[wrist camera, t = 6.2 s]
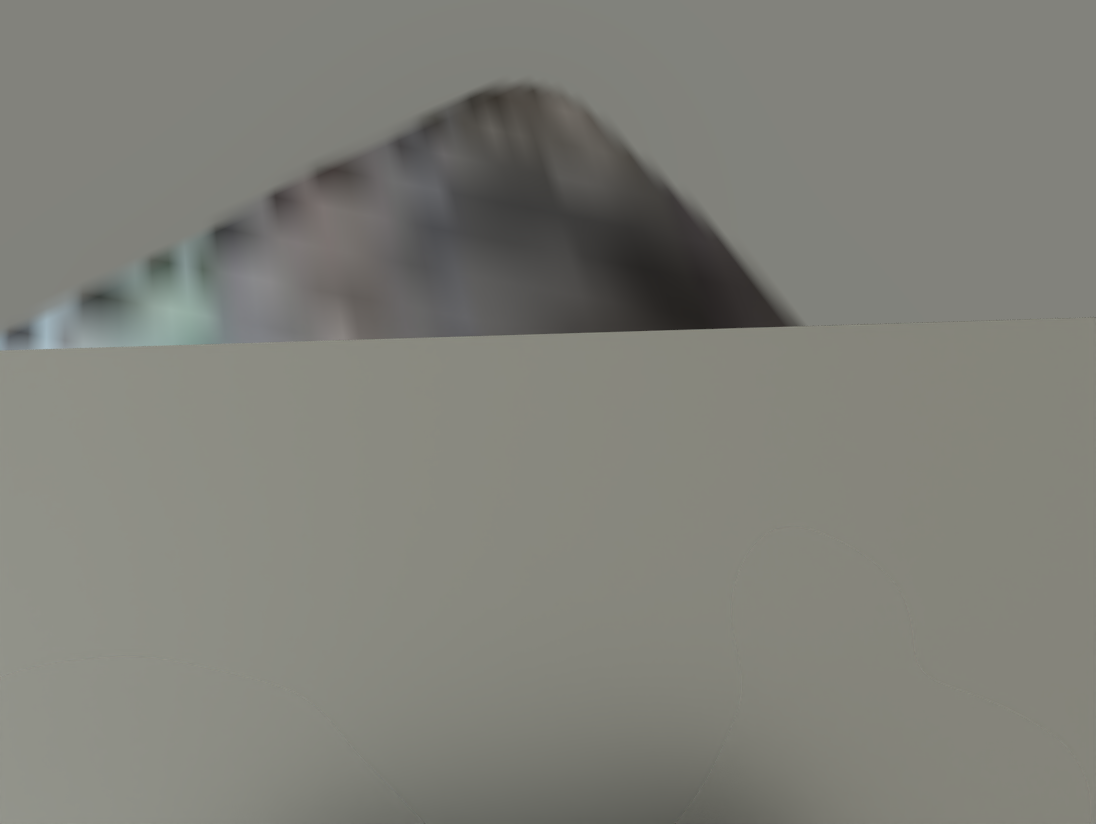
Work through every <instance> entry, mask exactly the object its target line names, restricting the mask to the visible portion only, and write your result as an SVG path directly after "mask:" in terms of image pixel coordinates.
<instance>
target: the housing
mask: <svg viewBox="0 0 1096 824" xmlns="http://www.w3.org/2000/svg"><path fill="white" fill-rule="evenodd" d="M0 824H1096V317H1090V318H1062V319H1061V318H1058V319H1025V320H993V321H961V322H930V323H929V322H927V323H896V324H895V323H894V324H861V325H829V326H795V327H762V328H729V329H697V330H664V331H631V332H598V333H565V334H533V335H500V336H467V337H434V338H401V339H369V340H336V341H303V342H270V343H238V344H205V345H172V346H139V347H106V348H73V349H41V350H8V351H0Z"/></svg>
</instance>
